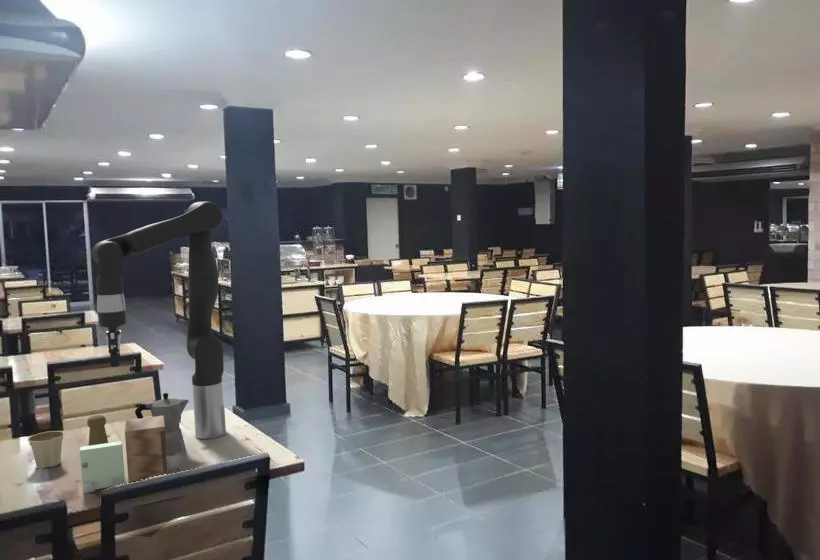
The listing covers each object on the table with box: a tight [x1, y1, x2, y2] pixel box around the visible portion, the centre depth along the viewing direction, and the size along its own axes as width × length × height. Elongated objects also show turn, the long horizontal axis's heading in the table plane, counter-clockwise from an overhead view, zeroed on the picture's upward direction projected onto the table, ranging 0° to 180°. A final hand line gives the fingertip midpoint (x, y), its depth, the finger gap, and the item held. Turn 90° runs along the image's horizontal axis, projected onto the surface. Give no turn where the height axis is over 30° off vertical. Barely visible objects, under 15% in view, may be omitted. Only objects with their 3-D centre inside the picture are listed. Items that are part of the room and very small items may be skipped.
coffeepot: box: [134, 392, 190, 456], centre depth 201 cm, size 15×9×18 cm, turn 116°
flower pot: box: [27, 430, 65, 469], centre depth 193 cm, size 9×9×9 cm
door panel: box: [79, 440, 126, 492], centre depth 176 cm, size 10×4×11 cm, turn 112°
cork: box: [86, 414, 109, 446], centre depth 204 cm, size 6×6×11 cm
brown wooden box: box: [124, 415, 169, 483], centre depth 185 cm, size 10×11×14 cm
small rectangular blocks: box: [82, 477, 123, 494], centre depth 177 cm, size 9×6×2 cm, turn 112°
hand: (115, 363), depth 196 cm, fingers open, 8 cm apart
